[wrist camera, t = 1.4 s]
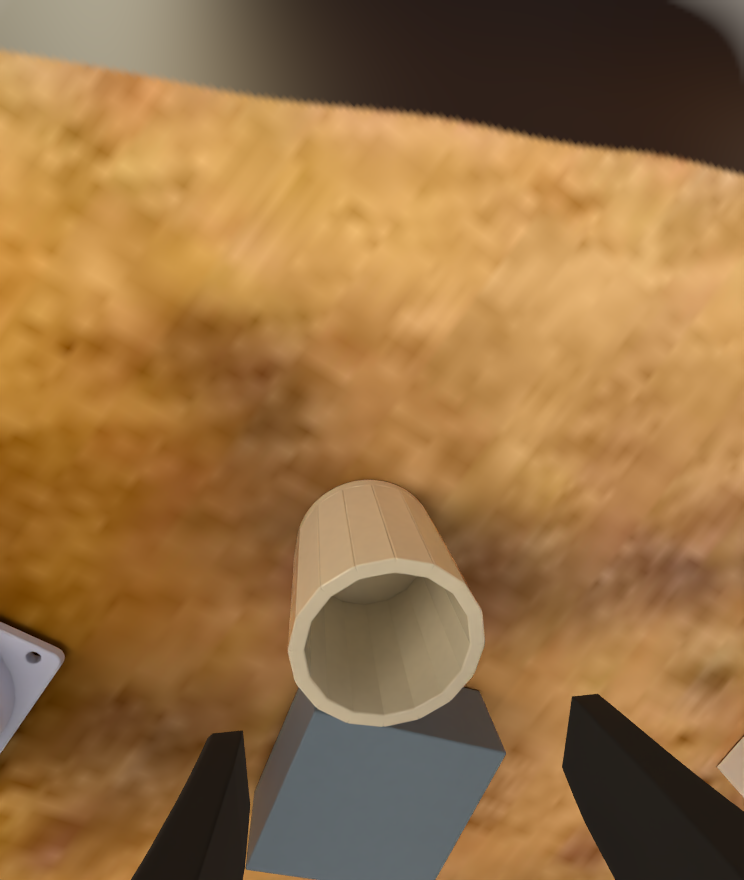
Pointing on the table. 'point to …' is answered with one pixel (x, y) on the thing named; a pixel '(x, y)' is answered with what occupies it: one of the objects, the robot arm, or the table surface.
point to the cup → (379, 608)
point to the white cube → (734, 767)
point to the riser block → (371, 792)
